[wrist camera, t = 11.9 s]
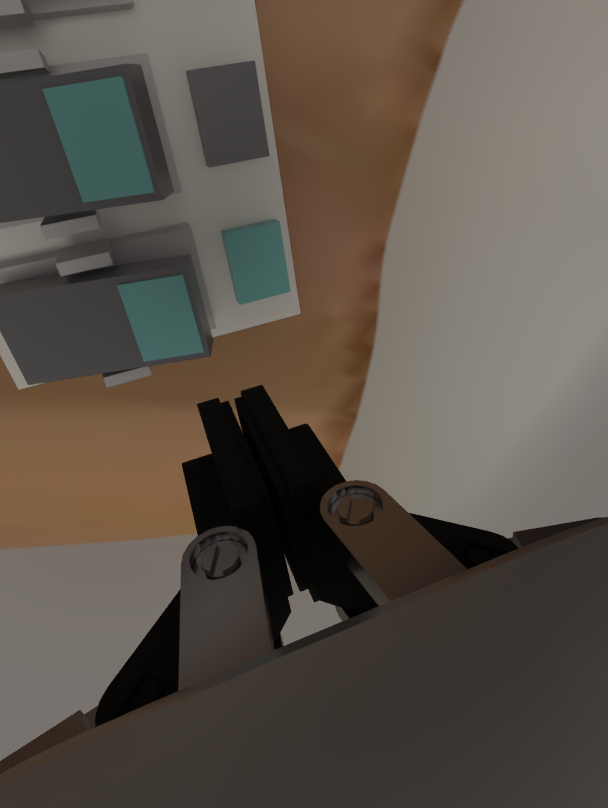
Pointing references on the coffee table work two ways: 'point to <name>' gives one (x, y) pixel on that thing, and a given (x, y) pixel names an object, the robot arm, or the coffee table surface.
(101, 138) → the rocker middle
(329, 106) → the coffee table surface
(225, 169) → the switch unit
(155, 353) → the rocker
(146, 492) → the coffee table surface
